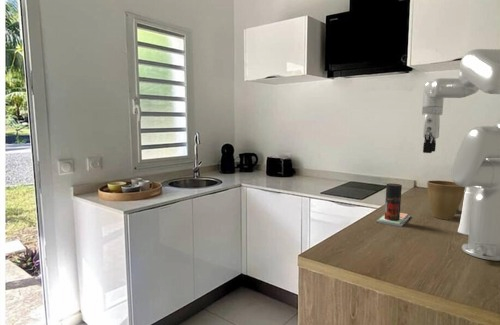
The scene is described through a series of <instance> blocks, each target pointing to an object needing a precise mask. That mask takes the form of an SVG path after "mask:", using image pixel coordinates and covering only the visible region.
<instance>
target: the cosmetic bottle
mask: <svg viewBox="0 0 500 325" xmlns="http://www.w3.org/2000/svg"><path fill="white" fill-rule="evenodd" d="M475 192H476V187H466V188H465V191H464V194H463V202H462V209H461V216H460V221H459V226H458V228H457V233H459V234H461V235H466V236H469V225H470V214H471V205H472V198H473V195H474V193H475Z"/></svg>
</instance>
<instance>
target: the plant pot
mask: <svg viewBox="0 0 500 325" xmlns="http://www.w3.org/2000/svg"><path fill="white" fill-rule="evenodd" d="M426 183H427V184H426V187H427V194H428V200H429V204H430V208H431V212H432V216H433V217H434V218H436V219H441V220H447V221H449V220H450V221H451V220H453V219H454V217H455V216H456V214H457V213H456V211H457V209H458V207H459V208H460V204H461V203H462V199H463V198H464V195H465V191H466V187H461V186H458V185H457V184H455V183H454V181H449V180H428V181H426Z"/></svg>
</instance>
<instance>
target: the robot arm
mask: <svg viewBox="0 0 500 325" xmlns="http://www.w3.org/2000/svg"><path fill="white" fill-rule="evenodd" d="M479 90H480V91H481V92H483V93H485V94H489V95H500V49H499V48H498V49H497V48H494V49H493V48H491V49H490V48H487V49H486V48H478V49H477V48H476V49H472V50H470V51H467V53H465V54H464V55H463V57H462V58H461V60H460V62H459V73H458V78H455V77H454V78H453V77H451V78H449V77H448V78H447V77H446V78H445V77H444V78H441V77H439V78H435V79H433V80H431V81H426V82H425V83H424V85H423V96H422V108H421V110H422V111H421V115H422V116H424V119H423V134H422V135H423V144H422V146H423V147H422V152H423V153H424V154H433V152H436V144H437V143H436V142H437V139H439V137H440V125H441V122H440V121H441V120H440V119H441V118H440V116H443V112H444V99H462V98H466V97H470V96H471V95H474V94H476V93H478V92H479ZM450 176H451V179H452V182H454V183H455V184H457V185H458V186H461V187H465V188H467V187H475V188H477V189H475V193H474V195H473V198H472V205H471V214H470V225H469V235H467V236H468V238H467V239H468V240H467V243H463V244H462V245H461V250H462V251H463V252H464V253H465V254H467V255H469V256H472V257H474V258H478V259H483V260H488V261H495V262H498V261H499V262H500V119H499V120H498V122H497V123H496V124H495V125H493V126H489V125H487V126H485V125H482V126H476V127H473V128H472V129H470V130H468V131H467V133H466V134H465V135H464V136H463V139H462V141H461V143H460V146H459V149H458V151H457V153H456V155H455V158H454V161H453V164H452V167H451V174H450Z"/></svg>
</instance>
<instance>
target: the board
mask: <svg viewBox="0 0 500 325" xmlns="http://www.w3.org/2000/svg"><path fill="white" fill-rule="evenodd" d="M409 219H411V215H409V214H408V213H404V212H400V220H399V221H390V220H386V219H385V213H384V214H383V215H381V217H379V218H378V219H377V220H376V221H375V222H376V223H377V222H378V224H385V225H389V226H396V227H400V228H402V227H403V226H404V224H406V223H407V222H408V221H409Z"/></svg>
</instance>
